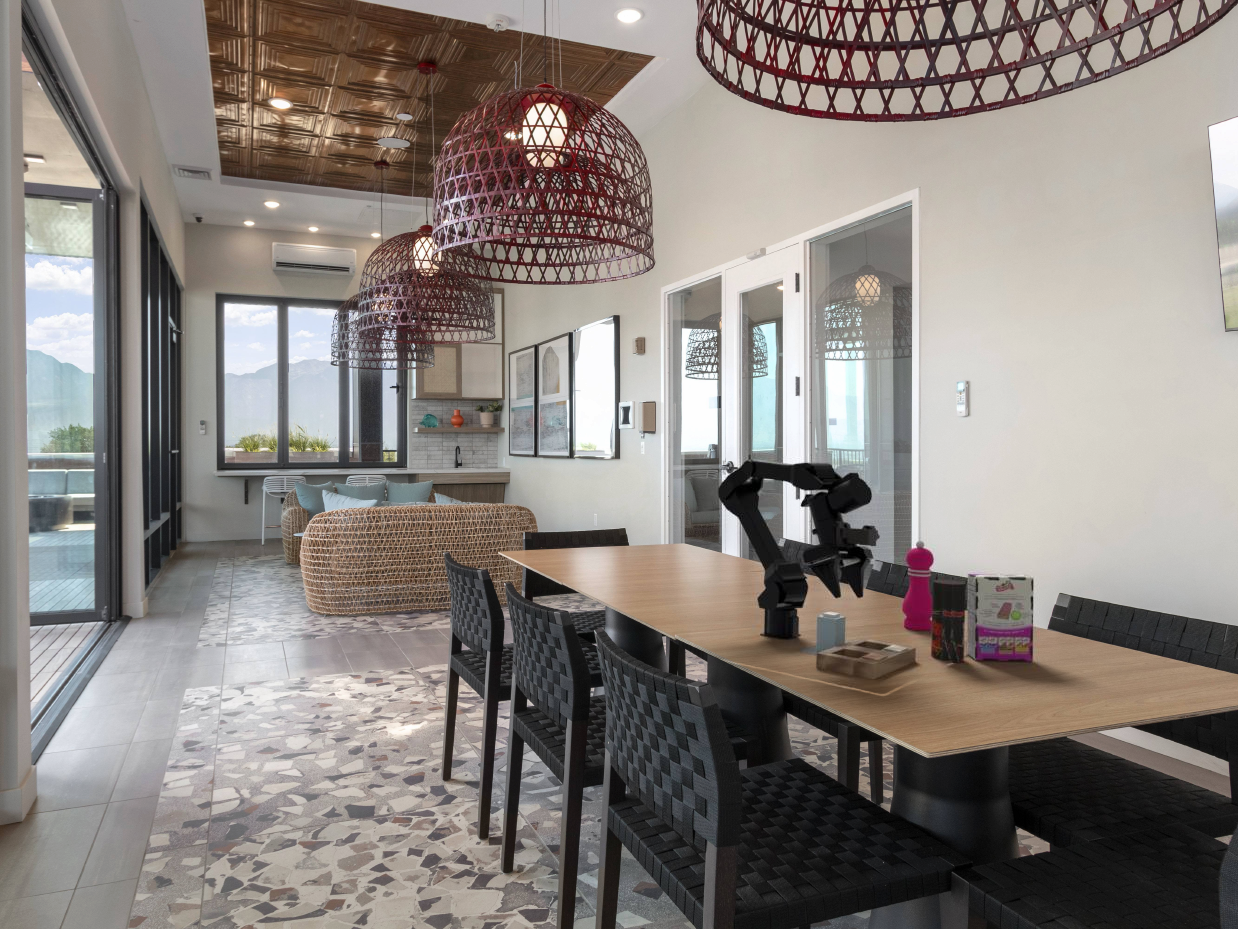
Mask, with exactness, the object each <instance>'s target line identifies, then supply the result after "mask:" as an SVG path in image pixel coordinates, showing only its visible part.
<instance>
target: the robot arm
mask: <svg viewBox="0 0 1238 929" xmlns="http://www.w3.org/2000/svg"><path fill="white" fill-rule="evenodd" d="M750 478H751V479H750ZM765 479H766V480H774V481H781V482H786V483H789V484H791V486H793V487H794V488H797V489H799V490H802V491H806V492H807V491H811V492H812V491H819V492H817V493H809V494H805V495H804V497H803V499H802V501H801V503H800V507H802V508H809V511H810V514H811V518H812V522H813V526H814V529H811V533H812V535H813V536H817V540H818V544H816V545H813V546H810V547H807V548H803V551H802V553H801V559H802V564H803V565H807V568H808V569H809V570H811V571H812V573H813V574H815V576H816V577H817V578H818V580H820V582H822V584H823V585H824V586H825V588H826V589H827V590H828V591H829V592H830V593H831V594H832V595H833V597H834V598H835V599H840V598H841V597H842V592H841V584H840V578H839V573H838V570H839V571H840V572H841V573H842V575H843V578H844V579H845V580H846V582H847V584H848V585H849V587H850V588H851V591H852V592H853V593H854V594H855V596H856V598H857V599H861V598H864V582H865V581H864V578H865V577H864V576H865V570H866V568H867V566H868V565H869V564H871V562H872V561H871V560H873V559H874V555H873V552H872V549H870V548H869V547H868V546H870V547H877V541H878V540H879V539H880V537H881V536H880V534H879V530H877V527H875V525H866V524H864V525H863V526H862V528H852V527H851V525H850V523H849V522H846V521H844V518H843V515H846V514H849V513H852V512H853V511H856V510H858V509H860V508H862V507H864V506H867V505H869V504H870V503H871V501H872V498H873V494H872V489H871V487H869V485H868V484H867V482H866V481H864V479H863V478H860V475H859V473H858V472H849V473H847V474H845V475H844V476H841V475H840V474H839V473H838V472H837V471H835V468H834V467H833V464H831V463H829V462H798V463H785V462H776V461H769V460H765V459H762V458H761V459H758V458H755V459H754V458H752V459H747V460H745V461H744V462H743V464H742V465H741V466H740V467H739V468H737V469H735V470H734V471H732V472H731V473H730V474H728V475H727V476H726V477H725V479H724V480H723V481H722V482H721V483H720V485H719V487H718V490H717V492H718V498H719V501H720V502H721V503H722V505H723V507H724V508H725V509H726V510H727V511H728V512H729V513H731V514H732V515H734V516H735V517H737V519H738V520H739V522H740V524H741V526H742V527H743V531H744V532H745V534H746V536H747V538H748V540H749V542H750V543H751V545H752V548H753V549H754V551H755V554H756V555H757V557H758V559H759V561H760V563H761V566H762V567H763V569H764V576H763V578H764V579H763V584H764V587H765V588H764V590H763V591H762V592H761V593H760V595H759V596H757V604H758V608H760V609H763V610H764V616H763V617H764V620H763V622H764V626H763V627H764V628H763V632H760V634H759V635H760V636H762V637H767V638H771V639H772V638H773V639H778V640H783V641H789V640H791V639H794V638H797V637H800V636H802V635H801V633H800V630H799V628H800V617H799V616H798V609H803V608H804V606H805V605H804V604H805V602H806V598H807V595H808V592H809V584H808V581H807V580H808V577H807V575H805V574H804V572H803V570H802V567H801V565H800V564H799V563H798V562H791V563H790V562H789V561H787V560H786V558H785V557H784V555H783V552H782V551H781V549H780V547H779V545H778V543H777V541H776V540H775V538H774V536H773V534H772V532H771V530H770V528H769V527H768V525H767V523H766V521H765V518H764V516H763V515H762V513H761V511H760V510H759V501H760V496H759V492H760V491H761V490H763V485H764V480H765ZM826 491H827V492H826ZM838 566H840V567H839V569H838Z"/></svg>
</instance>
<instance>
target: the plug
mask: <svg viewBox="0 0 1238 929" xmlns="http://www.w3.org/2000/svg"><path fill="white" fill-rule="evenodd" d="M845 643H846V616H844V615H841V613H839V612H833V611H827V612H822V614H820V615H817V617H816V646H817V649H816V652H822V651H825V650H828V649H831V648H834V647H836V646H839V645H842V644H845Z"/></svg>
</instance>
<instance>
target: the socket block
mask: <svg viewBox="0 0 1238 929" xmlns="http://www.w3.org/2000/svg"><path fill="white" fill-rule="evenodd" d="M916 650H917V648H916V647H914V646H907V645H903V644H898V643H891V642H886V641H880V640H875V639H869V638H857V639H855V640H852V641H849V642H845V644H842V645H839V646H836V647H834V648H831V649H828V650H825V651H822V652H819V653H817V655H815V656H816V657H815V658H816V661H815V662H816V664H815V665H816V666H815V668H817V669H821V670H826V671H829V672H834V673H835V672H836V673H840V674H845V675H850V676H855V677H860V678H864V679H869V680H875V679H878V678H880V677H882V676H884V675H888V674H890V673H892V672H894V671H896V670H899V669H902V668H904V667H906V666H908V665H910V664H913V663H915V662H916V658H917V655H916V654H917V652H916Z"/></svg>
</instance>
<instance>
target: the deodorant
mask: <svg viewBox="0 0 1238 929" xmlns="http://www.w3.org/2000/svg"><path fill="white" fill-rule="evenodd" d="M931 596H932V617H931V620H932V630H931V634H930V635H931V636H930V637H931V640H930V641H931V644H930V657H932V658H933V659H936V660H942V661H949V663H951V664H958V663H959V664H960V663H963V662H964V661H965V660H964V659H965V623H966V622H965V621H966V582H964V581H961V580H954V579H933V580H932V594H931Z"/></svg>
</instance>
